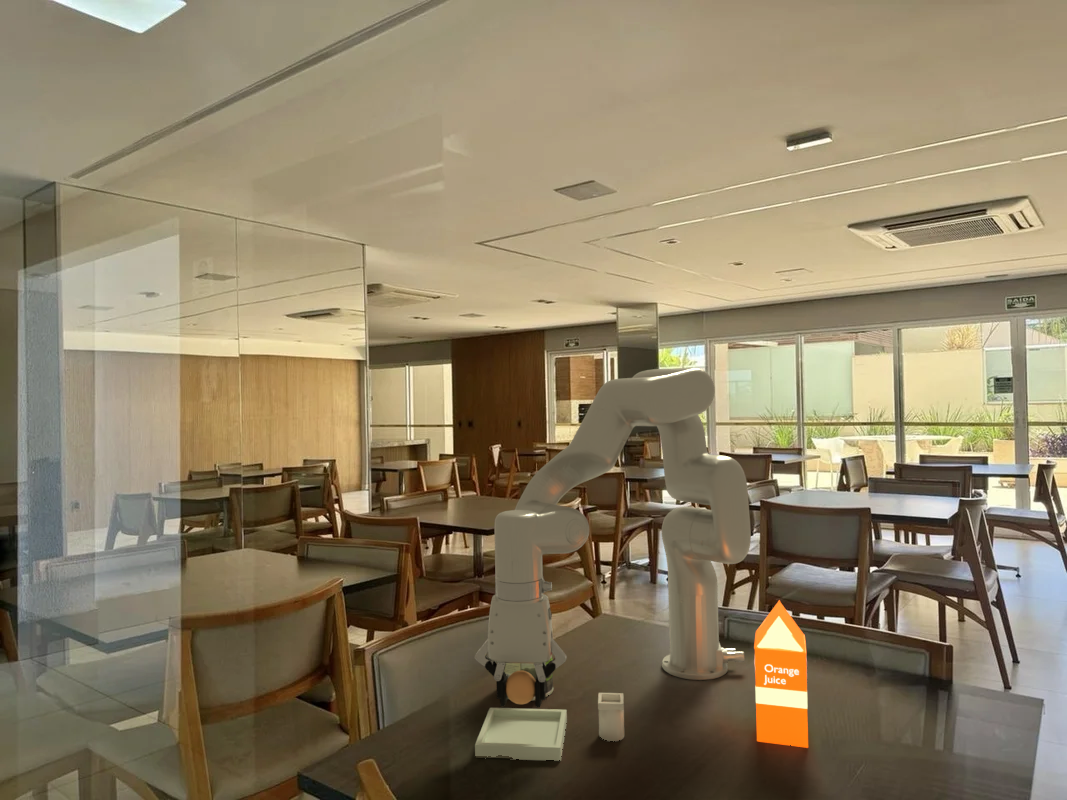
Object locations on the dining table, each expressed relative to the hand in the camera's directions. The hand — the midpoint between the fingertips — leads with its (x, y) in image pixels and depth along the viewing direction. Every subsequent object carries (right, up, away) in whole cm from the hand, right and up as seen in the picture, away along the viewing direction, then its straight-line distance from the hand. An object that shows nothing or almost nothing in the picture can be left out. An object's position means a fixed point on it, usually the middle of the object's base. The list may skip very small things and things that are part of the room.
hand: (521, 702), depth 115 cm
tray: (0, -6, 0) cm, 6 cm away
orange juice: (+42, -5, 0) cm, 42 cm away
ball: (0, +2, 0) cm, 2 cm away
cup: (+14, -6, +1) cm, 15 cm away
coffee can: (+1, -6, +19) cm, 20 cm away
